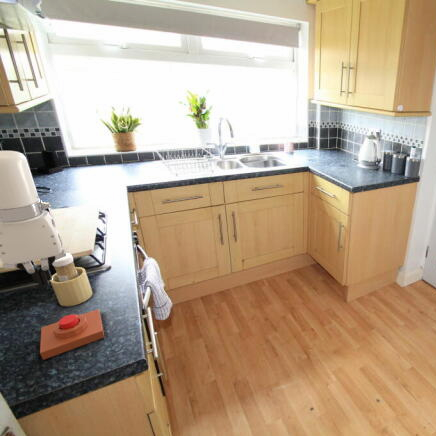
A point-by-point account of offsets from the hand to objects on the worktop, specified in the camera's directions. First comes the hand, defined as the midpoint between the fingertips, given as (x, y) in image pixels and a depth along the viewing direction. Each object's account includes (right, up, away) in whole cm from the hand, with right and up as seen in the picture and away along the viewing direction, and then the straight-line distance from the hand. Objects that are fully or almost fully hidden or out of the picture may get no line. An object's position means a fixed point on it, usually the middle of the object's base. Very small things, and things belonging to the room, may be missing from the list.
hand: (44, 283), depth 74 cm
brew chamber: (-8, -8, +20) cm, 23 cm away
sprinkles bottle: (-8, -8, +20) cm, 23 cm away
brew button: (+2, -11, +5) cm, 13 cm away
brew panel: (+2, -15, +7) cm, 16 cm away
